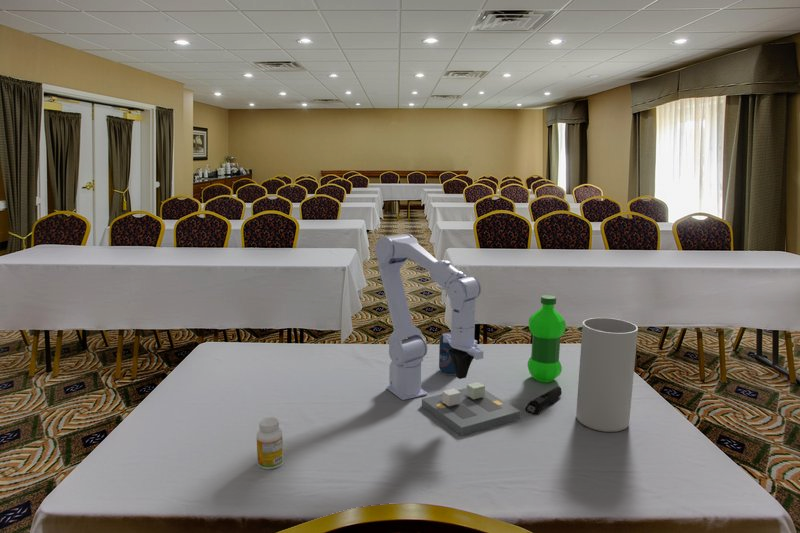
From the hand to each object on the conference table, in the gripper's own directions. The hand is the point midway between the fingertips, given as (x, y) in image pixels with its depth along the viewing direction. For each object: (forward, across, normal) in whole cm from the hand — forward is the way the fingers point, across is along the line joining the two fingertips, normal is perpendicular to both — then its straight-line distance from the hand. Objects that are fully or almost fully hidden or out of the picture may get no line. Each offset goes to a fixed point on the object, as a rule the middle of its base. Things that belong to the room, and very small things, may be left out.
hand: (461, 377), depth 142 cm
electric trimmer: (+11, -5, -24) cm, 26 cm away
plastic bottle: (+10, +8, -35) cm, 38 cm away
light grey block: (+8, +3, +1) cm, 9 cm away
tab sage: (+8, +4, -7) cm, 11 cm away
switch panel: (+10, 0, -3) cm, 11 cm away
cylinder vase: (+10, -19, -30) cm, 37 cm away
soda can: (+11, +26, -14) cm, 31 cm away
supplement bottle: (+11, +1, +49) cm, 50 cm away
